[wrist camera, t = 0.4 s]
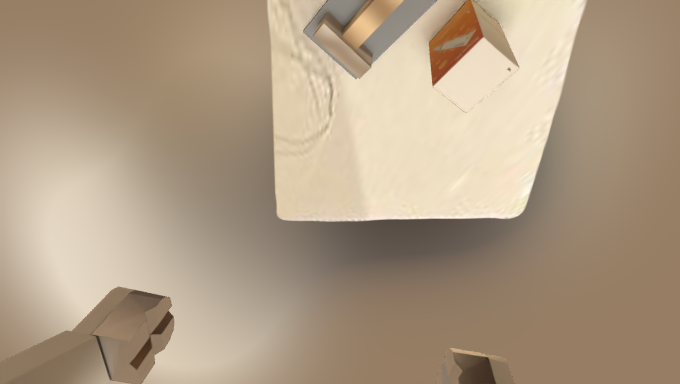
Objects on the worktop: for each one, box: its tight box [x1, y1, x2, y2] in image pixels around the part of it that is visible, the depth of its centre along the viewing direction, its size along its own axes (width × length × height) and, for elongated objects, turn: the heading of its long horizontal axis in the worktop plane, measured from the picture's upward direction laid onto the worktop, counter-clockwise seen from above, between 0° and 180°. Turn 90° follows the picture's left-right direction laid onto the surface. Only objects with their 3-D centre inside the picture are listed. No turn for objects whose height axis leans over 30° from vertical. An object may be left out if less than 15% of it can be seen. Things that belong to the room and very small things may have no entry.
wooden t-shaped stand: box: [313, 0, 404, 79], centre depth 48 cm, size 16×9×4 cm, turn 139°
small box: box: [429, 0, 519, 113], centre depth 47 cm, size 8×6×13 cm
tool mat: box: [303, 0, 437, 79], centre depth 50 cm, size 20×11×1 cm, turn 139°
